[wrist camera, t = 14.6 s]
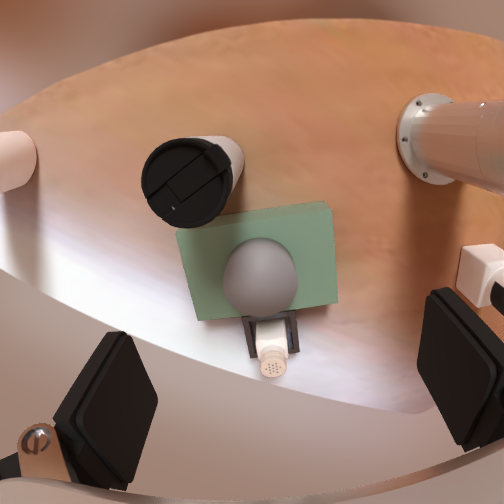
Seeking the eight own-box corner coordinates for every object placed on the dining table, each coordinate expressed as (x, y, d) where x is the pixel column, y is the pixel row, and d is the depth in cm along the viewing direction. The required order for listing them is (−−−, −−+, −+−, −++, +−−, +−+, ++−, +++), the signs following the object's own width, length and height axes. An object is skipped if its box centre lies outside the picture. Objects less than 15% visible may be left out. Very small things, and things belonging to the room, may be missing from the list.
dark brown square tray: (293, 299, 45) (295, 310, 42) (297, 340, 48) (299, 352, 45) (242, 306, 46) (241, 317, 43) (250, 346, 48) (250, 358, 45)
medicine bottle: (485, 282, 44) (525, 317, 32) (454, 287, 44) (493, 326, 33) (492, 242, 41) (538, 272, 30) (461, 245, 42) (506, 278, 30)
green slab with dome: (323, 200, 40) (340, 219, 32) (330, 285, 44) (344, 319, 36) (184, 221, 41) (166, 244, 33) (203, 302, 46) (192, 338, 37)
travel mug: (257, 164, 39) (254, 193, 20) (214, 195, 40) (174, 250, 21) (226, 124, 37) (194, 113, 18) (184, 156, 38) (118, 178, 20)
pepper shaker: (283, 312, 45) (288, 354, 36) (286, 335, 47) (291, 378, 38) (255, 315, 46) (254, 357, 37) (259, 338, 47) (258, 381, 38)
